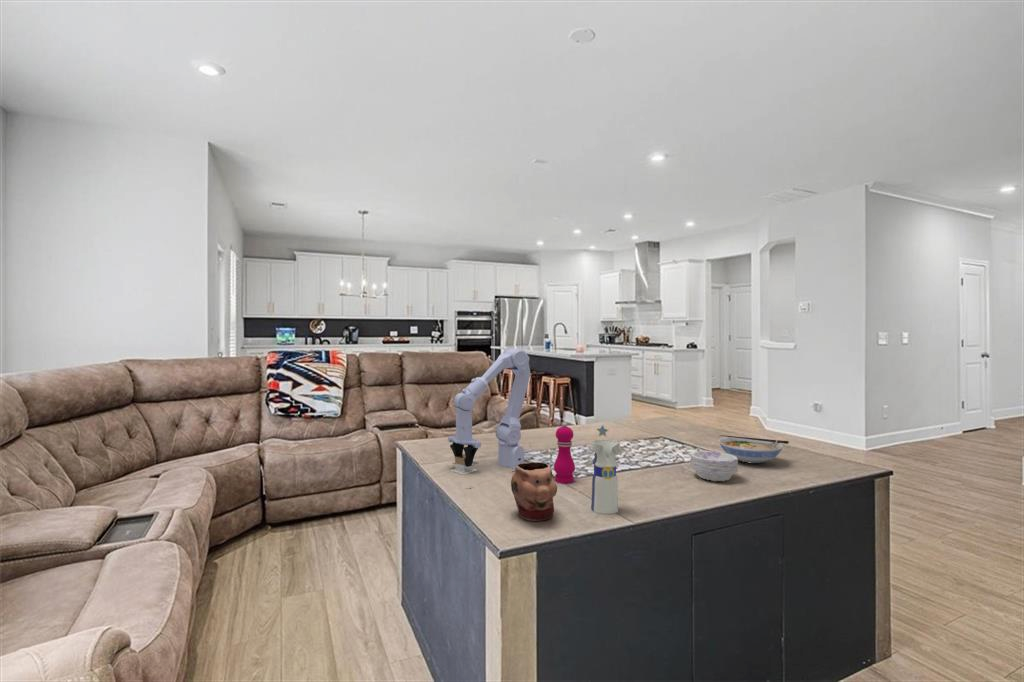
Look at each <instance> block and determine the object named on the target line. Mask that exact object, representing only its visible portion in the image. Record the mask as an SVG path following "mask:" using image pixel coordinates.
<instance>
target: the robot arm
mask: <svg viewBox="0 0 1024 682" xmlns="http://www.w3.org/2000/svg"><path fill="white" fill-rule="evenodd" d="M529 362H530V356H529V355H528V354H527V352H526V351H525V350H523V349H521V348H519V349H514V348H507V349H505V350H504V351H503V352H501V353H500V354H499V356H498V357H497V359H495V360H494V362H493V364H491V365H490V367H489V368H488V369H487V370H486V371H485V372H484V373H483V374H482V376H480V377H479V376H478V377H475V378H472V379H471V380H470V383H469V384H468V385H467V386H466V388H462V392H458V393H457V394H455V396H454V399H453V400H452V402H453V405H454V407H455V436H454V435H450V436H448V437H447V442H448V443H452V444H450V445H449V447H450V449H451V450H452V453H453V455H454V457H455V456H458V455H462V454H465V456H466V466H467V467H469V466H472V462H474V458H475V455H476V453H477V451H478V450H479V448H481V447H482V446H481V445H482V442H481V441H480V440H476V439H475V438H473V408H474V407H475V404H476V401H477V400H478V399H479V398H480V397H481V396H482V395H483V394H484V393H485V392H486V391H487V390H488V388H489V383H491V381H492V380H493V379H495V378H496V377H497V376H498V375H499V374H500V373H501V372H502V371H504V370H506V369H510V370H511V371H512V372H513V374H514V380H513V384H512V386H511V387H512V388H511V390H510V394H509V398H508V401H507V402H508V403H507V406H506V410H505V415H504V416H503V417H502V418H501V420H500V421H499V424H498V425H497V427H495V428H496V429H495V431H494V432H495V434H494V435H495V436H496V438H497V439H498V445H497V449H498V450H497V451H498V452H497V453H498V455H497V458H498V459H497V462H498V463H497V464H498V466H499V467H503V468H509V469H515V468H516V466H517V465H518V464H521V463H525V448H524V447H523V446H521V445H519V442H520V441H521V438H522V437H521V436H522V435H521V429H522V425H521V421H520V417H521V413H522V409H523V405H524V401H525V397H526V393H527V389H528V385H529V381H530V378H531V368H530V363H529ZM463 452H464V453H463ZM513 472H514V473H515V470H513V471H511V473H513Z"/></svg>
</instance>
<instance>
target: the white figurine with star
mask: <svg viewBox="0 0 1024 682" xmlns="http://www.w3.org/2000/svg"><path fill="white" fill-rule="evenodd" d="M596 430H597V431H598V432H599V433H598V437H601V436H604V437H607V434H606V433H607V432H608V431H609V429H608V428H605V427H604V424H602V425H601V426H600V427H599V428H596ZM590 450H591V451H592V452H593V453H594V459H593V461H592V464H593V475H592V479H591V502H590V503H591V504H590V509H591V510H592V512H594V513H597V514H602V515H612V514H616V513H618V512H619V497H618V495H619V494H618V487H619V486H618V484H619V483H618V477H617V465H618V462H617V460H616V456H618V455H619V454H620V453H621V451H622V448H621V446H620V443H619V442H618V441H617V440H613V439H609V438H608V439H606V438H605V439H603V438H600V439H594V440H592V443H591V444H590Z"/></svg>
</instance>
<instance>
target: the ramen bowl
mask: <svg viewBox="0 0 1024 682" xmlns="http://www.w3.org/2000/svg"><path fill="white" fill-rule="evenodd" d="M719 436H720V437H721V438H718V442H719V445H720V447H721V448H722V450H723V451H724V453H727V454H731V455H734V456H736V457H737V458H738V461H739V460H740V461H739V462H741V461H744V462H751V463H759V462H761V463H764V462H769V461H770V460H772V459H774V458H776V457H777V456H778V455H779V454H780V453H781V451H782V450H783V449H784V446H783V444H787V445H789V443H790V442H789V441H790V440H789V441H788V440H780V439H770V438H769V439H767V438H757V437H748V436H732V435H725V436H724V435H723V434H722V435H721V434H720V435H719ZM759 464H760V463H759Z"/></svg>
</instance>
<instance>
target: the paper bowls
mask: <svg viewBox="0 0 1024 682" xmlns="http://www.w3.org/2000/svg"><path fill="white" fill-rule="evenodd" d="M738 464H739V460H738V458H737V457H736V456H734V455H731V454H727V453H726V452H720V451H711V450H709V451H707V450H703V451H702V450H701V451H694V452H691V454H690V465H689V466H690V468H691V470H694V471H695V472H696V474H697V476H698V477H699V478H700V479H702V478H703V480H705V479H706V480H705V481H709V480H711V481H710V482H717V481H722V482H726V481H725V480H727V481H729V480H730V479H731V477H732V476H733V475H735V474H737V473H738V468H739V467H738Z"/></svg>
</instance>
